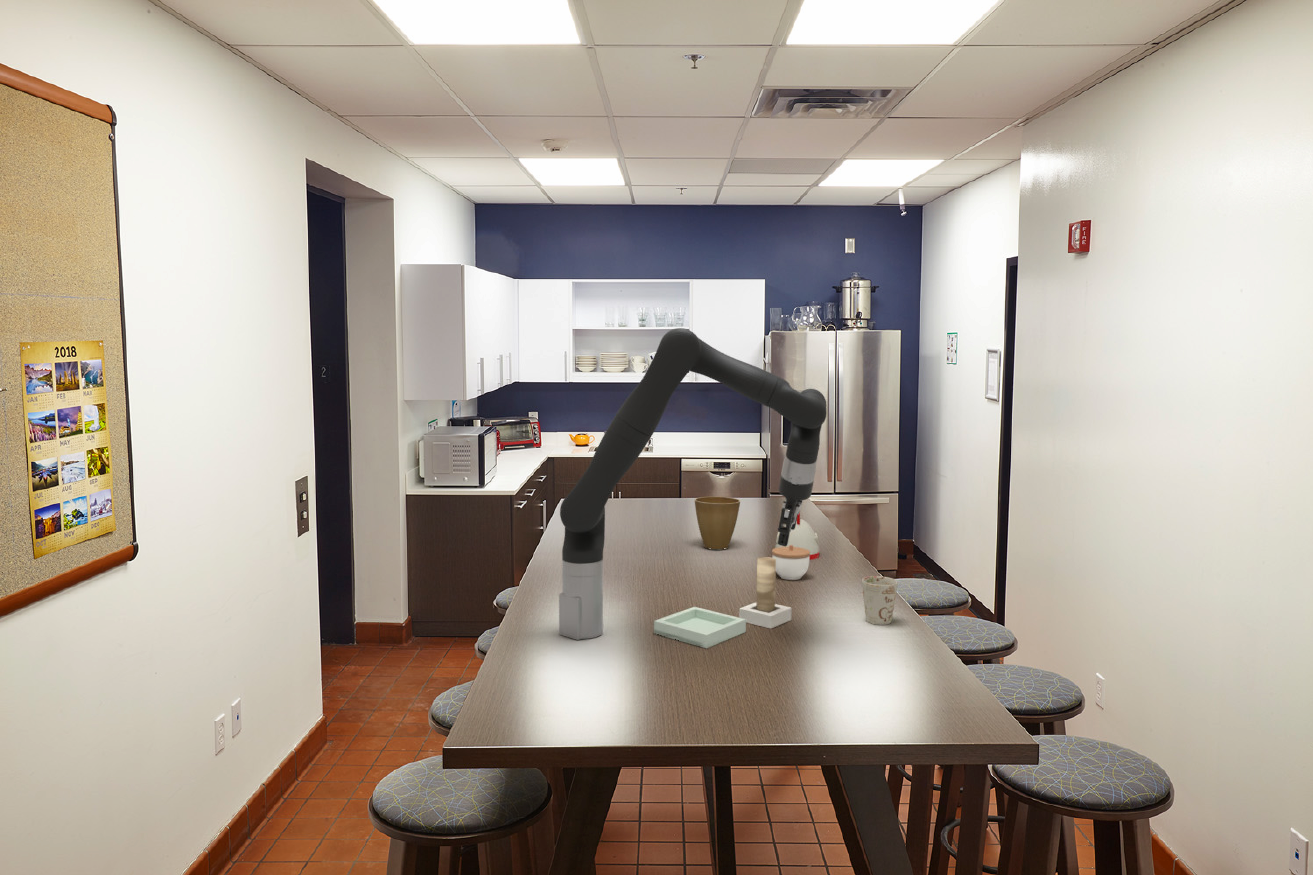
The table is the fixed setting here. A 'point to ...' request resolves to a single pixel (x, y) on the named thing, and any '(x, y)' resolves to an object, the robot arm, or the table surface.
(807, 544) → the chicken shaped dome
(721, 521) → the plant pot
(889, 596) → the mug
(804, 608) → the table surface
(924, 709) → the table surface
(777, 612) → the holder block
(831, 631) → the table surface
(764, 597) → the dowel
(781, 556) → the lidded jar
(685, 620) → the tray
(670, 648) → the table surface
